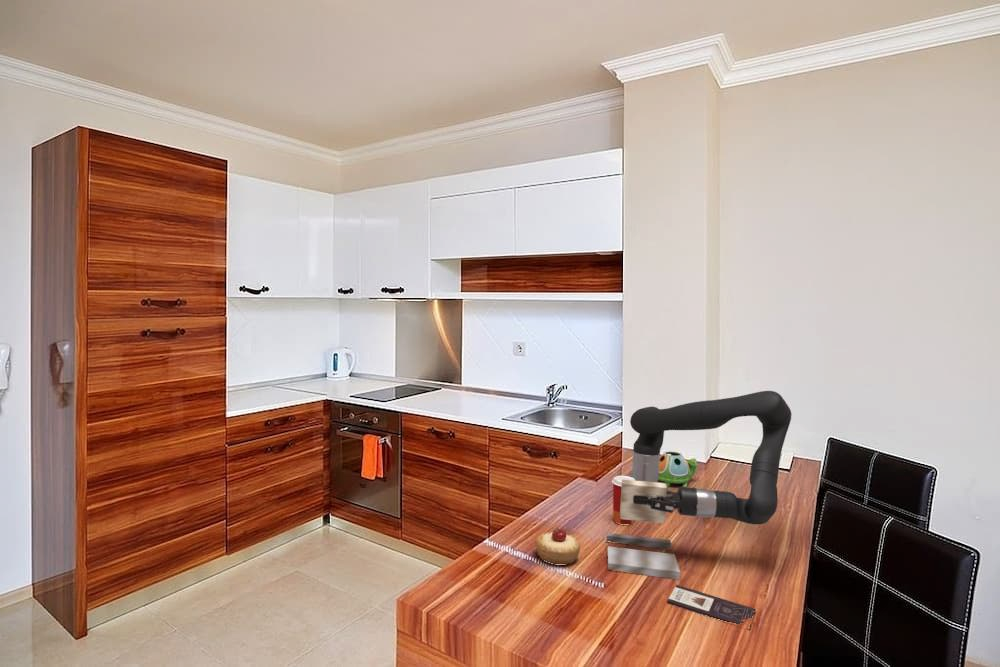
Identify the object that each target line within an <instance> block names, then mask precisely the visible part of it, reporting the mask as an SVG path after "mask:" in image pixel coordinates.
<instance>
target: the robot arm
mask: <svg viewBox="0 0 1000 667" xmlns="http://www.w3.org/2000/svg"><path fill="white" fill-rule="evenodd" d="M790 408H791V407H789V405H788V404H787V402H786V400H785V399H784V397H783V396H782V395H781V394H780V393H778V392H776V391H773V390H764V391H757V392H752V393H748V394H743V395H739V396H735V397H734V396H733V397H726V398H725V397H724V398H720V399H719V398H718V399H714V400H713V399H712V400H711V399H708V400H700V401H699V400H698V401H694V402H688V403H683V404H679V405H676V406H672V407H667V408H661V409H660V408H658V407H656V406H648V407H646V406H645V407H643V408H639V409H637V410H635V411H634V412H633V413H632V415H630V416H631V417H630V421H629V422H630V426H631V428H632V429H633V430H634V432H636V433H637V434H639V435H638V438H637V439H636V440H635V442H634V443H633V450H632V468H631V470H630V471H629V475H628V477H632V478H634V479H635V480H636V481H645V482H657V483H659V480H658V476H659V460H660V456H661V449H662V447H663V444H664V438H665V437H664V436H665V432H667V431H702V430H704V431H705V430H713V429H718V428H720V427H722V426H724V425H726V423H728V422H730V421H731V420H733V419H735V418H740V417H756V418H757V419H758V420H759V422H760V423H761V425H762V426H761V427H762V438H761V442H760V445H759V446H758V448H756V450H755V452H754V454H753V457H752V460H751V465H750V471H749V472H750V473H749V483H750V484H749V485H751V486H750V493H749V495H748V496H749V497H748V498H740V497H737V495H736V494H734V493H733V492H730V491H725V490H724V491H723V490H712V489H708V488H707V489H706V488H700V487H699V488H698V487H688V486H687V487H682V486H679V487H678V489H677V492H675V491H672V490H668V487H667V496H663V495H656V496H655V497H654V496H648V498H647V496H639V495H634V496H633V503H634V504H644V505H647V504H648V506H651V507H650V508H651V509H655V510H660V511H665V512H666V513H669V514H672V513H674V509H676V510H677V513H678V514H679V515H680V516H687V517H689V516H691V517H700V518H721V519H731V520H735V521H738V522H740V523H744V524H750V525H763V524H767V523H768V522H769V520H770V519H771V518H772V517H773V516H774V515H775V513H776V512H777V508H778V502H779V497H778V486H777V484H778V479H779V472H780V471H779V470H780V461H781V457H782V456H781V455H782V451H783V447H784V444H785V439H786V436H787V432H788V430H789V428H790V424H791V421H792V411H791V409H790ZM660 498H661V499H660ZM659 504H660V505H659Z"/></svg>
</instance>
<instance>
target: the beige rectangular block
mask: <svg viewBox="0 0 1000 667" xmlns="http://www.w3.org/2000/svg"><path fill="white" fill-rule="evenodd" d="M667 488H668V487H667V486H666V484H665V482H658V483H657V482H645V481H634V480H622V486H621V506H620V517H621V519H625V520H631V521H637V522H648V523H657V524H666V516H667V515H666V513H667V512H665V511H660V510H655V509H651V508H650V507H651V506H648V504H647V505H644V504H634V503H633V496H634V495H639V496H647V498H648V496H654V497H655V496H656V495H663V496H667ZM660 499H661V498H660ZM659 505H660V504H659Z"/></svg>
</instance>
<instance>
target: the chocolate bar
mask: <svg viewBox="0 0 1000 667" xmlns="http://www.w3.org/2000/svg"><path fill="white" fill-rule="evenodd" d="M666 604H669V605H671V606H674V605H675V607H678V608H680V609H683V610H687V611H690V612H693V613H697V614H699V615H702V614H703V615H702V616H705V615H707V616H706V617H708V616H709V618H711V617H713V618H712V619H714V618H716V619H715V620H717V619H720V620H723V621H727V622H732V623H736V624H740V623H744V622H743V621H741V620H743V619H748V618H752V616H753V615H754V612H753V611H755V610H757V609H756V608H754V607H751V606H747V605H743V604H740V603H736V602H734V601H731V600H727V599H724V598H721V597H717V596H714V595H712V594H708V593H705V592H701V591H698V590H695V589H692V588H688V587H685V586H681V585H678V584H676V586H675V587H674V589H673V590H672V592H671V594H670V596H669V597H668V598H667V600H666ZM755 612H756V611H755ZM754 616H755V615H754ZM720 620H719V621H720ZM723 621H722V622H723ZM740 625H741V624H740Z"/></svg>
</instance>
